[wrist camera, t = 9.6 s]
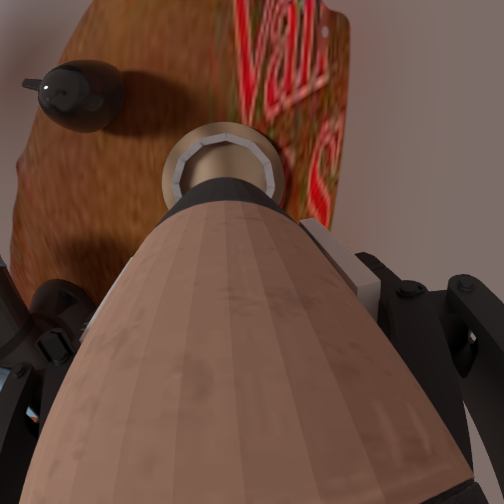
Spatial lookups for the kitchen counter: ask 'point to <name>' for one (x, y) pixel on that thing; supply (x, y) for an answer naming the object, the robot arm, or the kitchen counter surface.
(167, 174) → the carrier plate
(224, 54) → the kitchen counter surface
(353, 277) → the robot arm
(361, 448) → the travel mug
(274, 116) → the kitchen counter surface
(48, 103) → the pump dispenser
